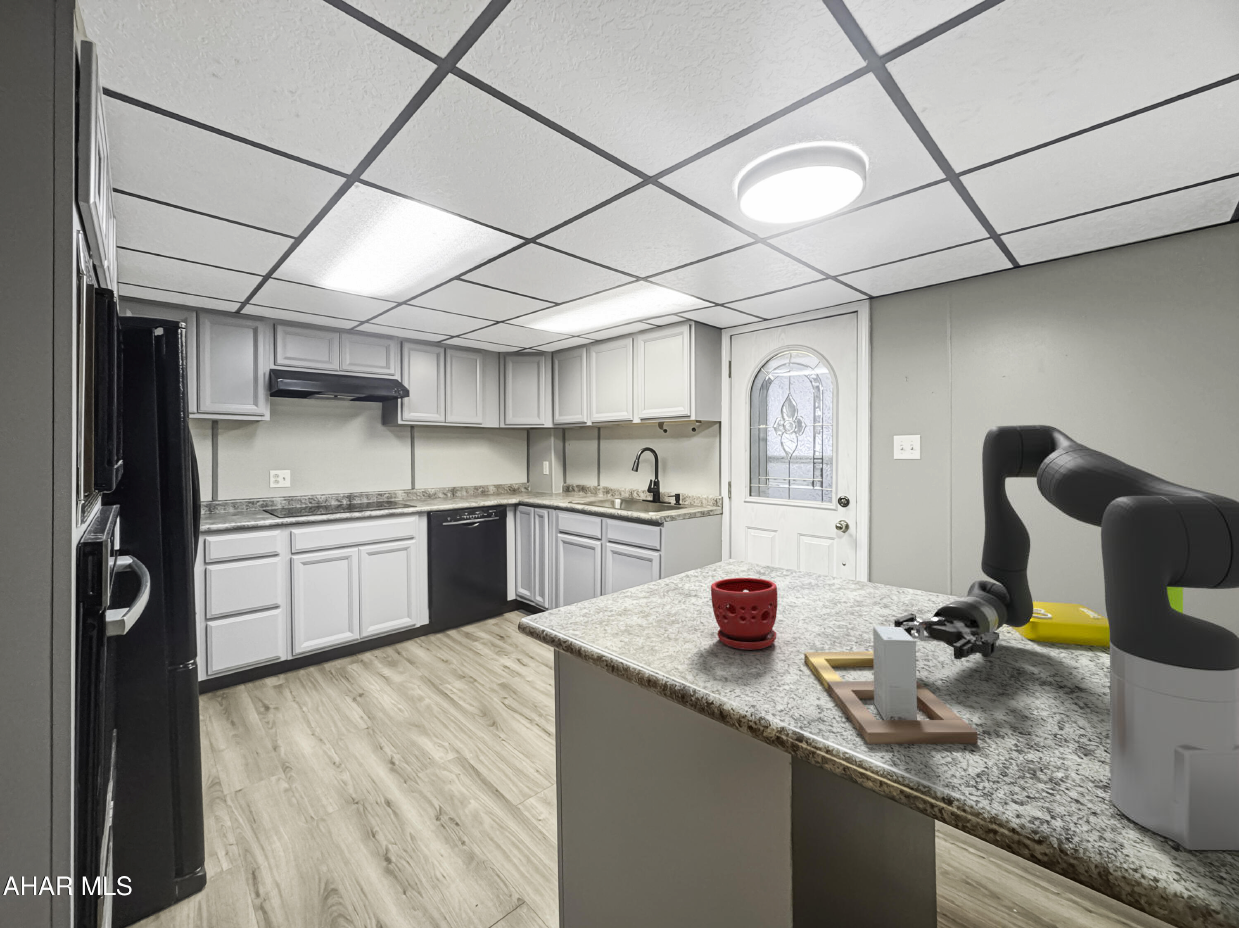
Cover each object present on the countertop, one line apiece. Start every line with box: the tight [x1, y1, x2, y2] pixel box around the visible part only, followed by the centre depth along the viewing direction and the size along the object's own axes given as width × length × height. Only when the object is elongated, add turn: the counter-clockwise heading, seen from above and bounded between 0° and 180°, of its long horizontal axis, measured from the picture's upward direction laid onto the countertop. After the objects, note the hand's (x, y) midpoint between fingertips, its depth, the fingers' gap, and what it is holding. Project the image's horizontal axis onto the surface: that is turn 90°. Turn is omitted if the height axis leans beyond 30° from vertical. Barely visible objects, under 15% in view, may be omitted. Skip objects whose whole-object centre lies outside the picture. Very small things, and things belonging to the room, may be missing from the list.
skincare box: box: [872, 625, 918, 720], centre depth 75 cm, size 6×4×12 cm
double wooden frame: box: [803, 650, 979, 745], centre depth 81 cm, size 27×14×2 cm, turn 177°
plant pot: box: [710, 577, 778, 651], centre depth 105 cm, size 13×13×12 cm
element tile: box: [1010, 600, 1110, 648], centre depth 106 cm, size 15×15×5 cm
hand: (926, 644), depth 81 cm, fingers open, 8 cm apart
